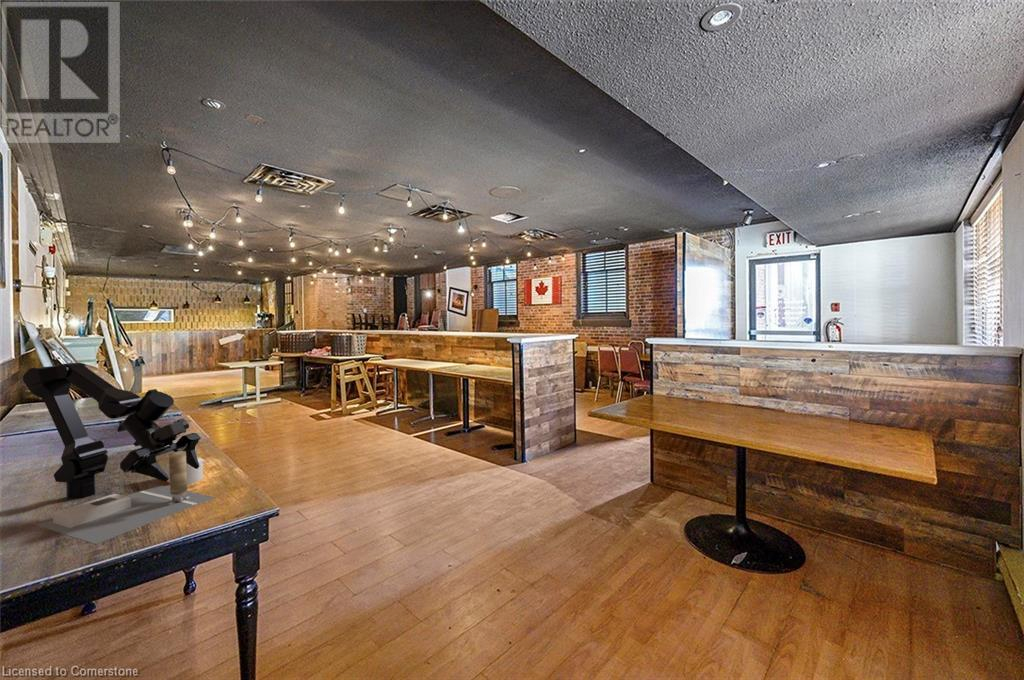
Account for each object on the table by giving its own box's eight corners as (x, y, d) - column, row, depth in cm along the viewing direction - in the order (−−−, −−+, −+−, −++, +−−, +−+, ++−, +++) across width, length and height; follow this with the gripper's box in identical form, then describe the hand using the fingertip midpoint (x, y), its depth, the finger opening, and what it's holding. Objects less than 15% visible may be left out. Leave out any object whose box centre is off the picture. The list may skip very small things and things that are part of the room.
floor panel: (36, 529, 99) (35, 524, 99) (159, 489, 123) (159, 484, 123) (95, 549, 91) (95, 543, 91) (215, 501, 115) (215, 497, 115)
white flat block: (53, 522, 100) (52, 512, 100) (114, 502, 111) (114, 493, 111) (69, 528, 98) (69, 517, 98) (131, 506, 109) (130, 497, 109)
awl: (167, 503, 111) (165, 455, 110) (175, 498, 114) (174, 451, 114) (182, 502, 112) (181, 454, 111) (190, 497, 115) (188, 450, 114)
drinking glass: (208, 479, 131) (207, 442, 131) (173, 488, 124) (172, 449, 123) (196, 473, 136) (195, 437, 136) (162, 482, 129) (161, 444, 128)
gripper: (128, 419, 103) (169, 465, 102) (194, 405, 122) (229, 443, 121) (101, 449, 104) (141, 495, 104) (171, 430, 123) (205, 469, 122)
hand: (183, 473), depth 112 cm, fingers open, 9 cm apart
